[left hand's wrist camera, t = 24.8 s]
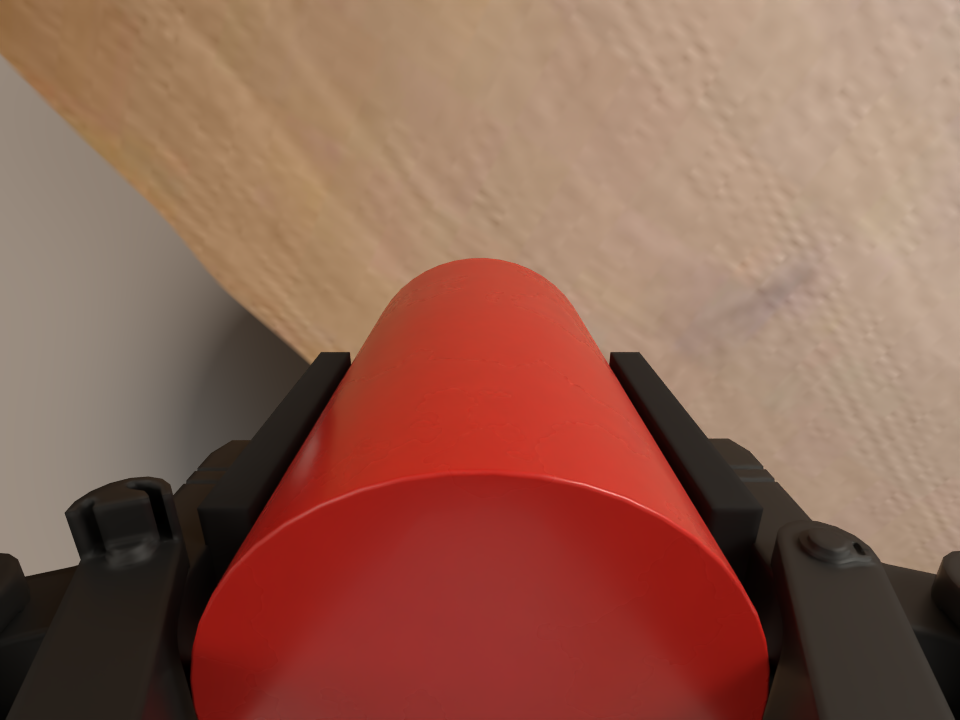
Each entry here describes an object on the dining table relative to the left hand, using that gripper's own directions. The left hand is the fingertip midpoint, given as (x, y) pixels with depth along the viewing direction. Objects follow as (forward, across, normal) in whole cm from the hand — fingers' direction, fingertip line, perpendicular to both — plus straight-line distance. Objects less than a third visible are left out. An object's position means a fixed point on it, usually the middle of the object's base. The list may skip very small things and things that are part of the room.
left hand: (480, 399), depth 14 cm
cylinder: (+2, 0, 0) cm, 2 cm away
